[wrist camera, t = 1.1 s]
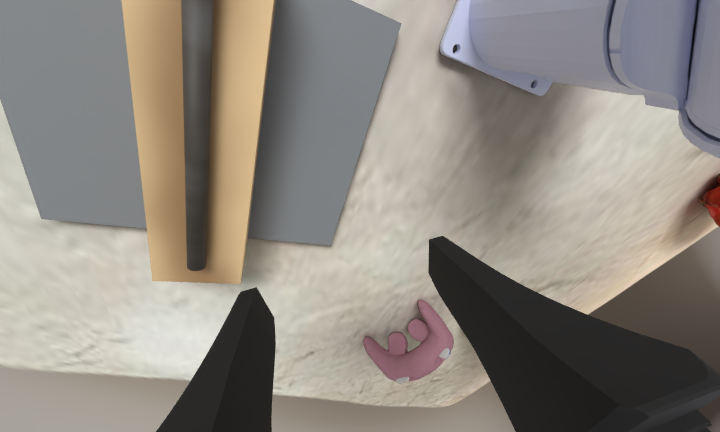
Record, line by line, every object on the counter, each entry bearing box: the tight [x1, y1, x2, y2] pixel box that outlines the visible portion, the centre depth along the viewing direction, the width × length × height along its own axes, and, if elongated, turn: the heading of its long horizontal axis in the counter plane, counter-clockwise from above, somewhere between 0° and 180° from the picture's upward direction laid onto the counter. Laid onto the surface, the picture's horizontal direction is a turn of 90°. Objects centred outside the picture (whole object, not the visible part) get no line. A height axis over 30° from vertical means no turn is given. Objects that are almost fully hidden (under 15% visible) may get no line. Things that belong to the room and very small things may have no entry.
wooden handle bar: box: [121, 0, 276, 284], centre depth 13 cm, size 5×20×5 cm, turn 162°
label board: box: [0, 0, 401, 246], centre depth 15 cm, size 18×16×1 cm
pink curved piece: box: [363, 300, 454, 384], centre depth 31 cm, size 10×5×7 cm, turn 129°
